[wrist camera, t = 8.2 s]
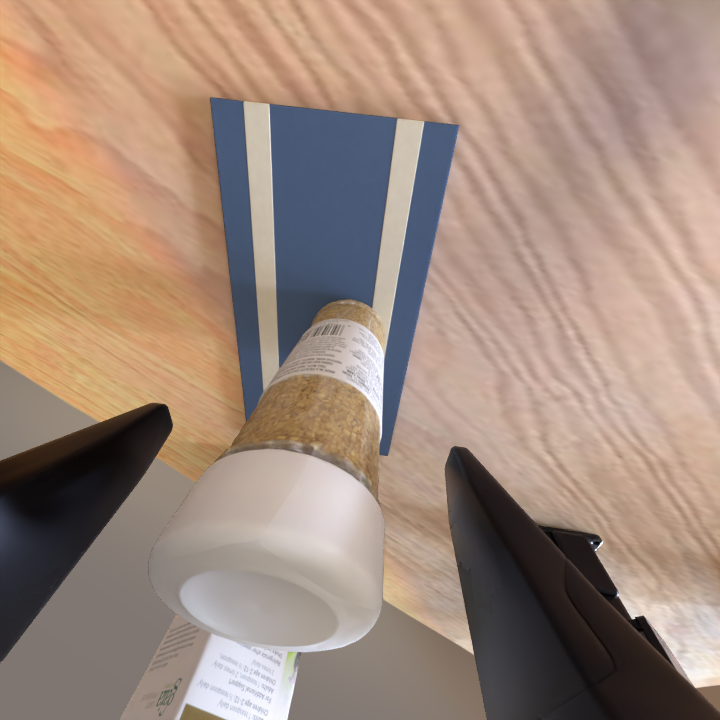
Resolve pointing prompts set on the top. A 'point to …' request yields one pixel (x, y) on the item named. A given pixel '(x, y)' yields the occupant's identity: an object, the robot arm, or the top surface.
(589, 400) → the top surface
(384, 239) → the tea towel
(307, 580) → the sprinkles bottle
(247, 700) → the syrup box
